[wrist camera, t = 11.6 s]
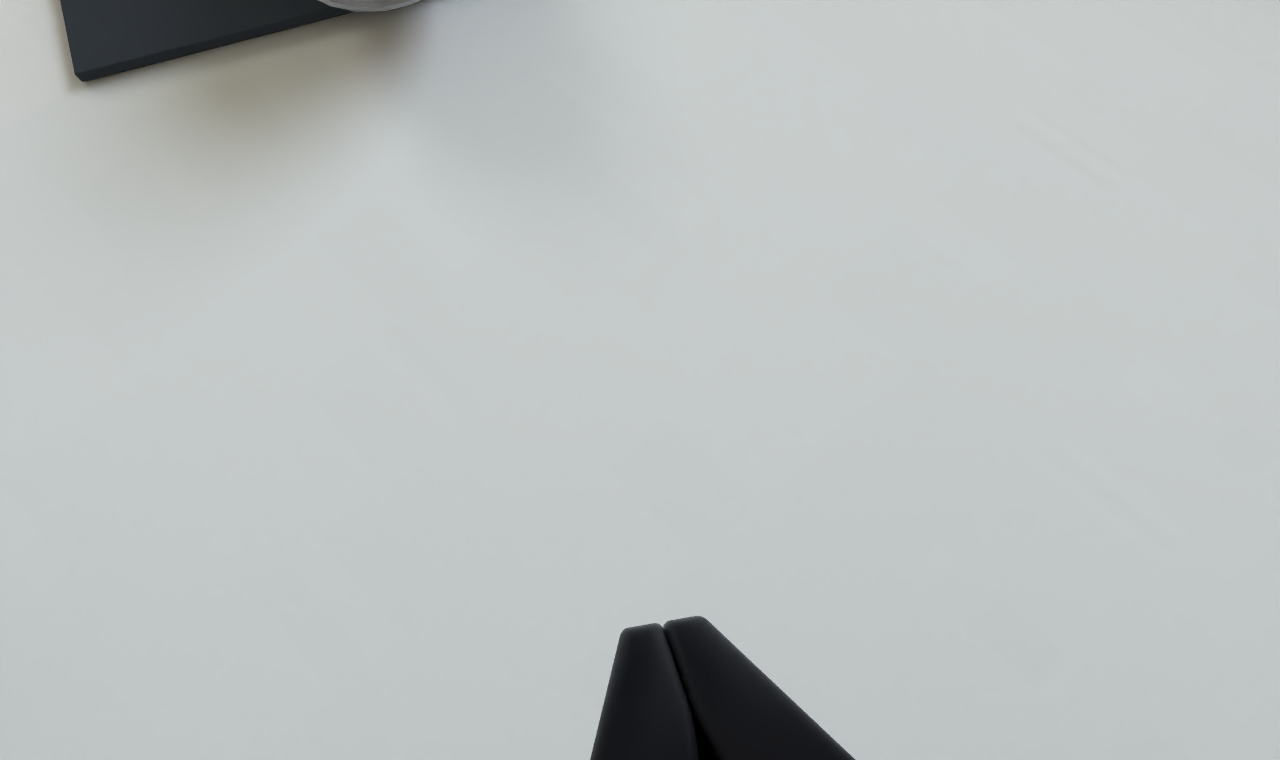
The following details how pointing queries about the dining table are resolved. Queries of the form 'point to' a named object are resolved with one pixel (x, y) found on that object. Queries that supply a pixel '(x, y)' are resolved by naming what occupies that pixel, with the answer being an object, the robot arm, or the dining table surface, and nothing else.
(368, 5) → the guarana soda can
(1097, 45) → the dining table surface
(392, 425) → the dining table surface
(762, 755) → the robot arm
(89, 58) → the mat
